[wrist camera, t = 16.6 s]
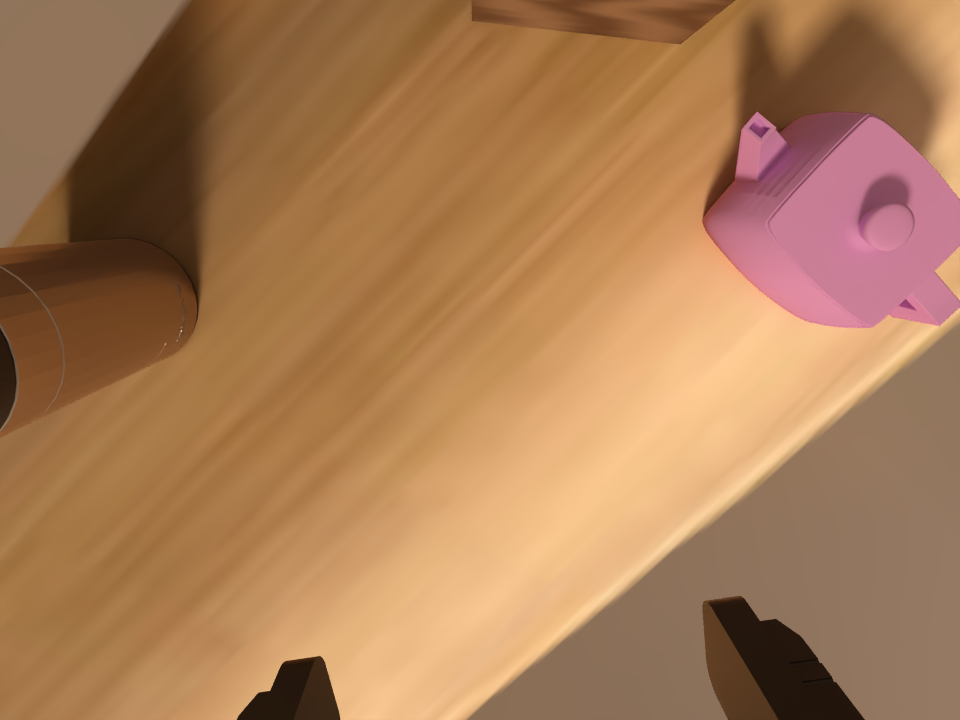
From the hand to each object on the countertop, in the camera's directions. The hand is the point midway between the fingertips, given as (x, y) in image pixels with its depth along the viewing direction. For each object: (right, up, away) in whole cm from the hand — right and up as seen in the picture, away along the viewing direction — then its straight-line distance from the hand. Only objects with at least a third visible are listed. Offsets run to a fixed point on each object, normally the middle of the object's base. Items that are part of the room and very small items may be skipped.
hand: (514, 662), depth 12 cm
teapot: (+22, +17, +29) cm, 40 cm away
